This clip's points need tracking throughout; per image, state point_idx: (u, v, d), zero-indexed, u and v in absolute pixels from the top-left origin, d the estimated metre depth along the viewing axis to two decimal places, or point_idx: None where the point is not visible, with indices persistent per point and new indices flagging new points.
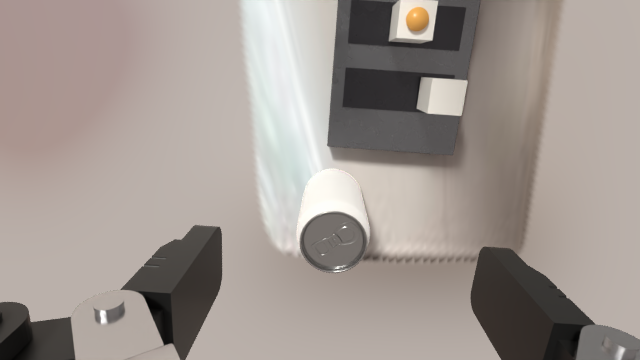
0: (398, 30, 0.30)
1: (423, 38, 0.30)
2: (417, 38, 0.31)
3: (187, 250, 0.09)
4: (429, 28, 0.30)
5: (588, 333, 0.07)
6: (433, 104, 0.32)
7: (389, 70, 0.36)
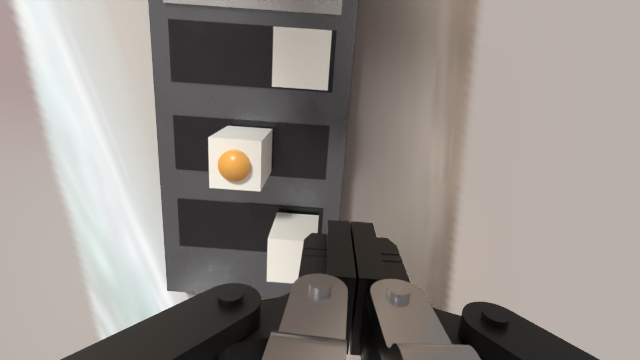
0: (211, 178, 0.21)
1: (247, 189, 0.21)
2: (239, 188, 0.22)
3: (340, 241, 0.10)
4: (254, 177, 0.21)
5: (374, 292, 0.08)
6: (273, 270, 0.23)
7: (236, 202, 0.27)
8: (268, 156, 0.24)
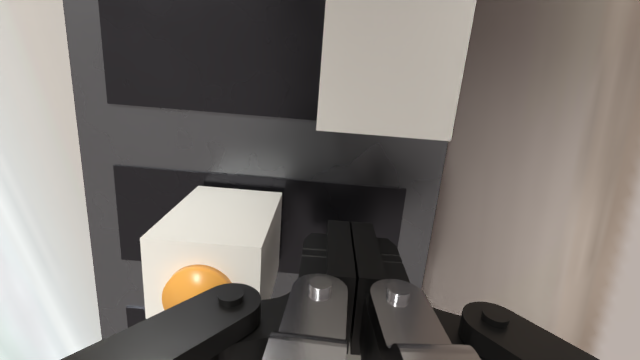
0: None
1: None
2: None
3: (340, 241, 0.10)
4: None
5: (374, 292, 0.08)
6: None
7: None
8: (274, 251, 0.12)
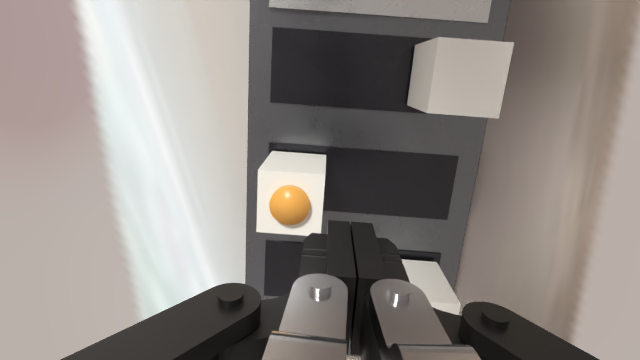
0: (259, 220, 0.17)
1: (304, 234, 0.17)
2: (294, 233, 0.17)
3: (340, 241, 0.10)
4: (313, 219, 0.17)
5: (375, 292, 0.08)
6: None
7: None
8: None
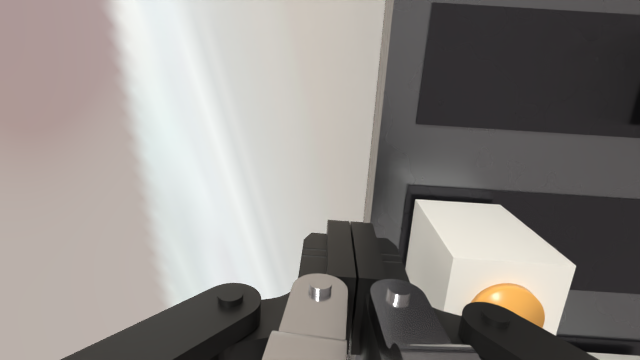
0: None
1: None
2: None
3: (340, 241, 0.10)
4: None
5: (375, 292, 0.08)
6: None
7: None
8: None
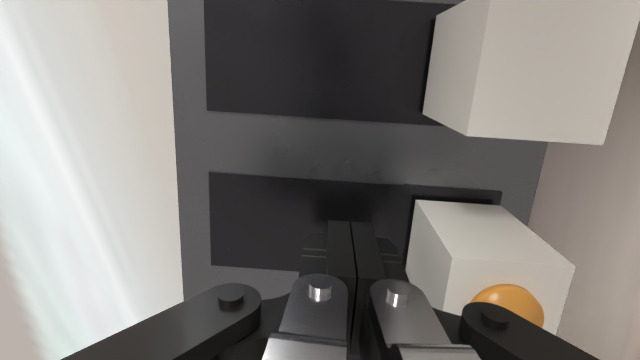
0: None
1: None
2: None
3: (340, 241, 0.10)
4: None
5: (374, 292, 0.08)
6: None
7: None
8: None
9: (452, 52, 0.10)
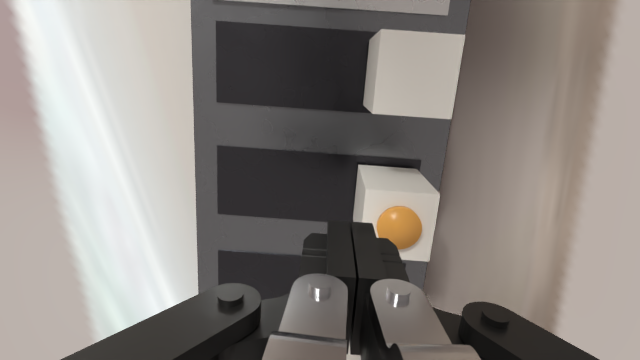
0: None
1: (411, 258, 0.16)
2: None
3: (340, 241, 0.10)
4: (423, 242, 0.15)
5: (374, 292, 0.08)
6: (355, 357, 0.17)
7: (293, 255, 0.21)
8: None
9: (371, 64, 0.15)
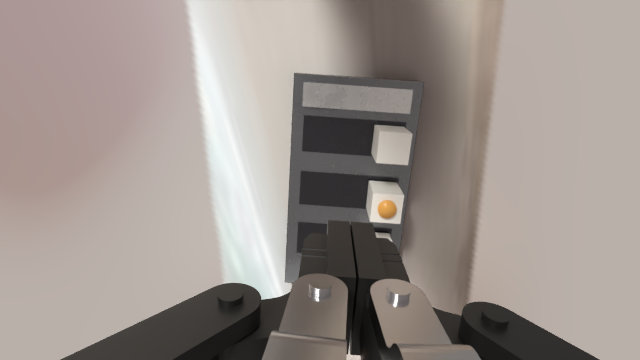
0: (371, 216, 0.36)
1: (392, 222, 0.36)
2: (387, 222, 0.36)
3: (340, 241, 0.10)
4: (397, 215, 0.36)
5: (374, 292, 0.08)
6: None
7: None
8: None
9: (375, 139, 0.36)
